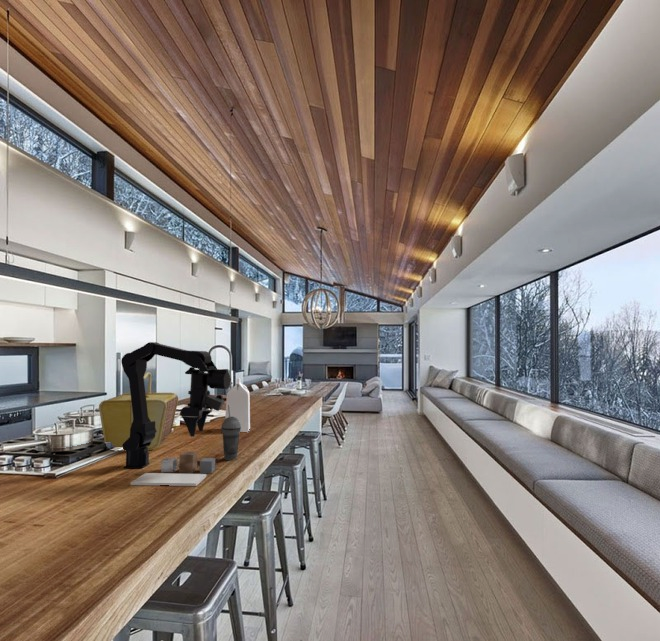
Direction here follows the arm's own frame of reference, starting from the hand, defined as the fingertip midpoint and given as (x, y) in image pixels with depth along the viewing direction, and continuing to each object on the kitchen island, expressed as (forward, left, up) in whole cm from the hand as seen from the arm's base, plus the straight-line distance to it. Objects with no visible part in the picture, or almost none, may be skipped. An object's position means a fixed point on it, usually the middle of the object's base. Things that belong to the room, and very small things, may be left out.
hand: (196, 433), depth 155 cm
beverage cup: (+8, +15, -12) cm, 21 cm away
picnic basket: (-37, +38, -12) cm, 54 cm away
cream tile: (-4, -13, -12) cm, 18 cm away
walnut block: (-2, -2, -12) cm, 12 cm away
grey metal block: (-9, -2, -12) cm, 15 cm away
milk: (-3, +72, -12) cm, 73 cm away
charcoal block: (+4, -2, -12) cm, 13 cm away
